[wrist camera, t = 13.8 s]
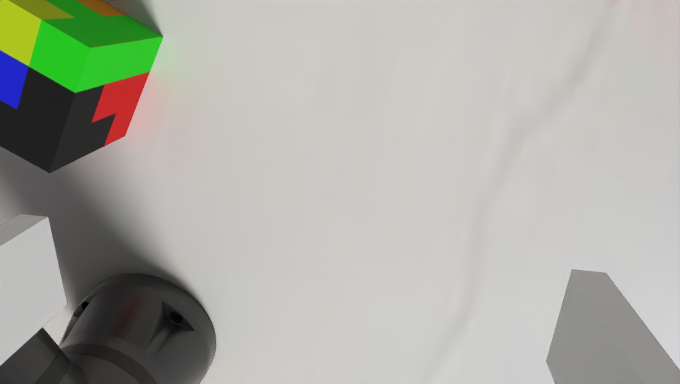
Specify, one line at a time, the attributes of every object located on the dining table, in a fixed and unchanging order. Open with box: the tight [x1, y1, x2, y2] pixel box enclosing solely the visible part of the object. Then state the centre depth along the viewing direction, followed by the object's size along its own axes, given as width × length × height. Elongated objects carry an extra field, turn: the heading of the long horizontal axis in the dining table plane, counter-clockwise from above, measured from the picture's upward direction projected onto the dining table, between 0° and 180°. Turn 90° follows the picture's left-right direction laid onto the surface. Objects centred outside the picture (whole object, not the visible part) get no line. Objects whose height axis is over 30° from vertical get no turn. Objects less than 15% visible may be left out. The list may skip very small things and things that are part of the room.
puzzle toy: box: [0, 0, 163, 173], centre depth 35 cm, size 10×10×10 cm
